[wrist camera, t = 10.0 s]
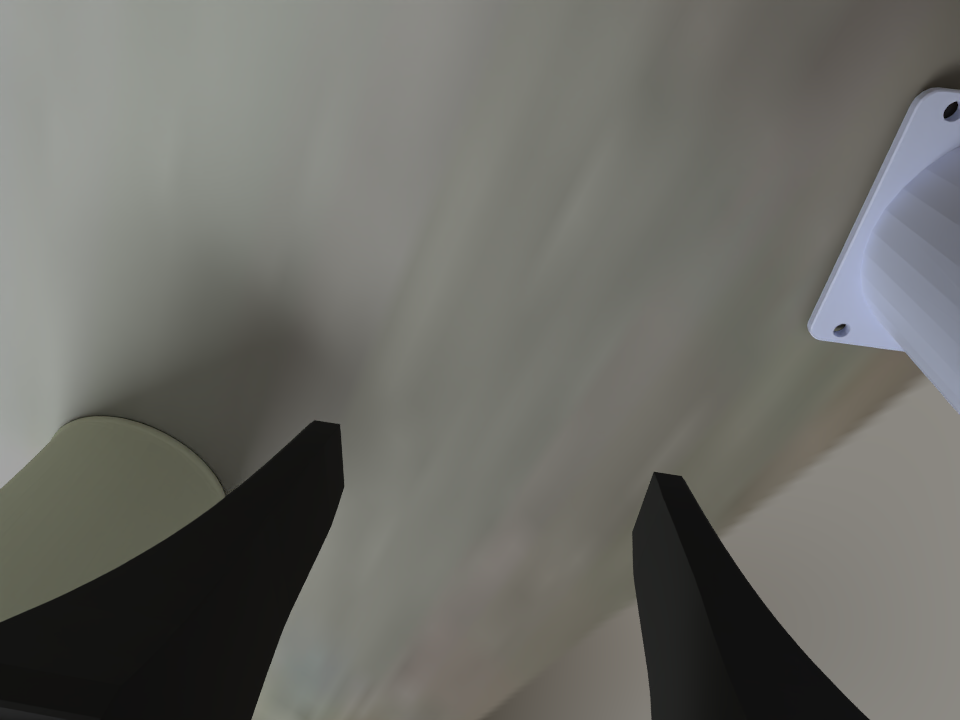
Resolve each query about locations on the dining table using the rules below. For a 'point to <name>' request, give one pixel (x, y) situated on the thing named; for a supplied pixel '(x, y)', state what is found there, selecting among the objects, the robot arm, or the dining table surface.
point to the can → (94, 506)
